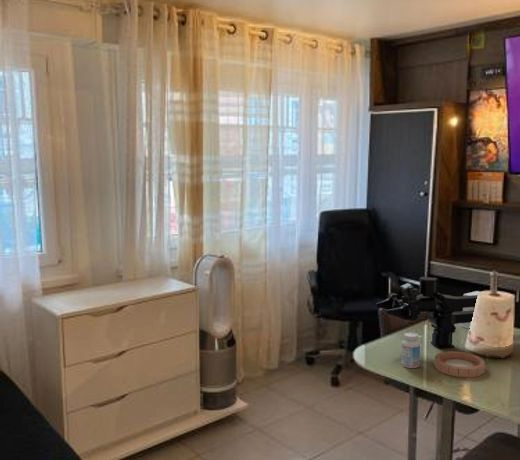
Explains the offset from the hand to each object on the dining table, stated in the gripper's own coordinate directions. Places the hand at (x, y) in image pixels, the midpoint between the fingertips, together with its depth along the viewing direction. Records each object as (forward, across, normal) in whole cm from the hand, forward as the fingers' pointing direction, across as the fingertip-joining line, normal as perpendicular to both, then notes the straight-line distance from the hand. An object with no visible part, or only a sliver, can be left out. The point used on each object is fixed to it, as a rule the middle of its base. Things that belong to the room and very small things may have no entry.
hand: (381, 308), depth 197 cm
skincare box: (-49, -16, +17) cm, 55 cm away
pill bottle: (-4, +15, +17) cm, 23 cm away
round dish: (-19, +21, +17) cm, 33 cm away
